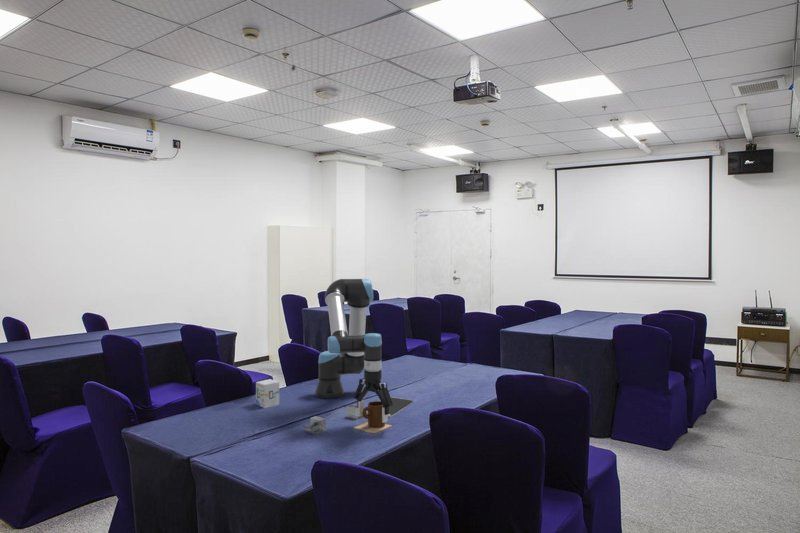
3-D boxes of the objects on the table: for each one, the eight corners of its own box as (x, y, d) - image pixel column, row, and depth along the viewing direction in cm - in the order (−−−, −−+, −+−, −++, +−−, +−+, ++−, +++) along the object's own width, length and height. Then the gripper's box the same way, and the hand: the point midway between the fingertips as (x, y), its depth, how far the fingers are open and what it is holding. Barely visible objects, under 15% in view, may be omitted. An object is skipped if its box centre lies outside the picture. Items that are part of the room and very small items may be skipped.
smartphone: (365, 414, 237) (365, 411, 236) (390, 399, 261) (390, 396, 261) (390, 419, 231) (390, 415, 231) (414, 403, 255) (414, 399, 255)
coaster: (353, 428, 216) (353, 427, 216) (371, 421, 226) (371, 420, 226) (374, 434, 209) (374, 433, 209) (392, 426, 218) (392, 425, 218)
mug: (369, 431, 210) (369, 409, 210) (356, 427, 215) (356, 406, 215) (388, 424, 219) (388, 403, 219) (376, 421, 224) (376, 400, 224)
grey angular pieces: (300, 432, 211) (300, 420, 210) (354, 413, 237) (354, 402, 237) (312, 436, 206) (312, 423, 206) (366, 416, 232) (366, 405, 232)
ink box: (255, 404, 250) (255, 381, 250) (270, 401, 256) (270, 378, 256) (264, 408, 244) (264, 384, 244) (279, 404, 250) (279, 381, 250)
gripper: (345, 367, 221) (345, 415, 222) (389, 375, 206) (389, 426, 206) (357, 364, 227) (357, 411, 228) (401, 372, 212) (400, 422, 212)
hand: (372, 418), depth 217 cm, fingers open, 13 cm apart
